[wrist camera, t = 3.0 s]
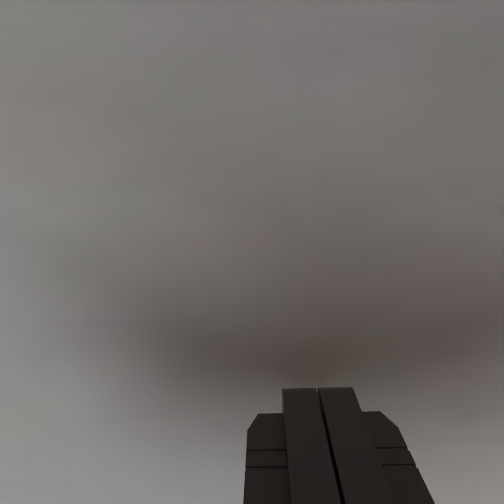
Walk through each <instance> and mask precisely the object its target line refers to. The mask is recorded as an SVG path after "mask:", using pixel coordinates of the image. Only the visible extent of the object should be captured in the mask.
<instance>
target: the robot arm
mask: <svg viewBox="0 0 504 504" xmlns="http://www.w3.org/2000/svg"><path fill="white" fill-rule="evenodd" d="M246 451H247V453H246V471H245V485H244V502H243V504H435V503H434V501H433V499H432V497H431V495H430V493H429V491H428V489H427V487H426V484H425V482H424V480H423V478H422V476H421V474H420V472H419V470H418V468H416V464H415V462H414V460H413V458H412V455H411V453H410V451H408V449H407V445H406V443H405V441H404V439H403V437H402V435H401V433H400V431H399V428H398V427H397V426H396V425H395V424H394V423H393V422H391V421H390V420H389V419H388V418H387V417H386V416H385V415H384V414H382V413H381V412H380V411H370V412H362V411H361V408H360V406H359V403H358V400H357V398H356V395H355V392H354V390H353V388H352V387H337V388H318V389H317V391H316V388H295V389H282V413H272V414H258V415H257V417H256V418H255V420H254V421H253V423H252V424H251V426H250V427H249V429H248V431H247V449H246Z"/></svg>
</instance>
